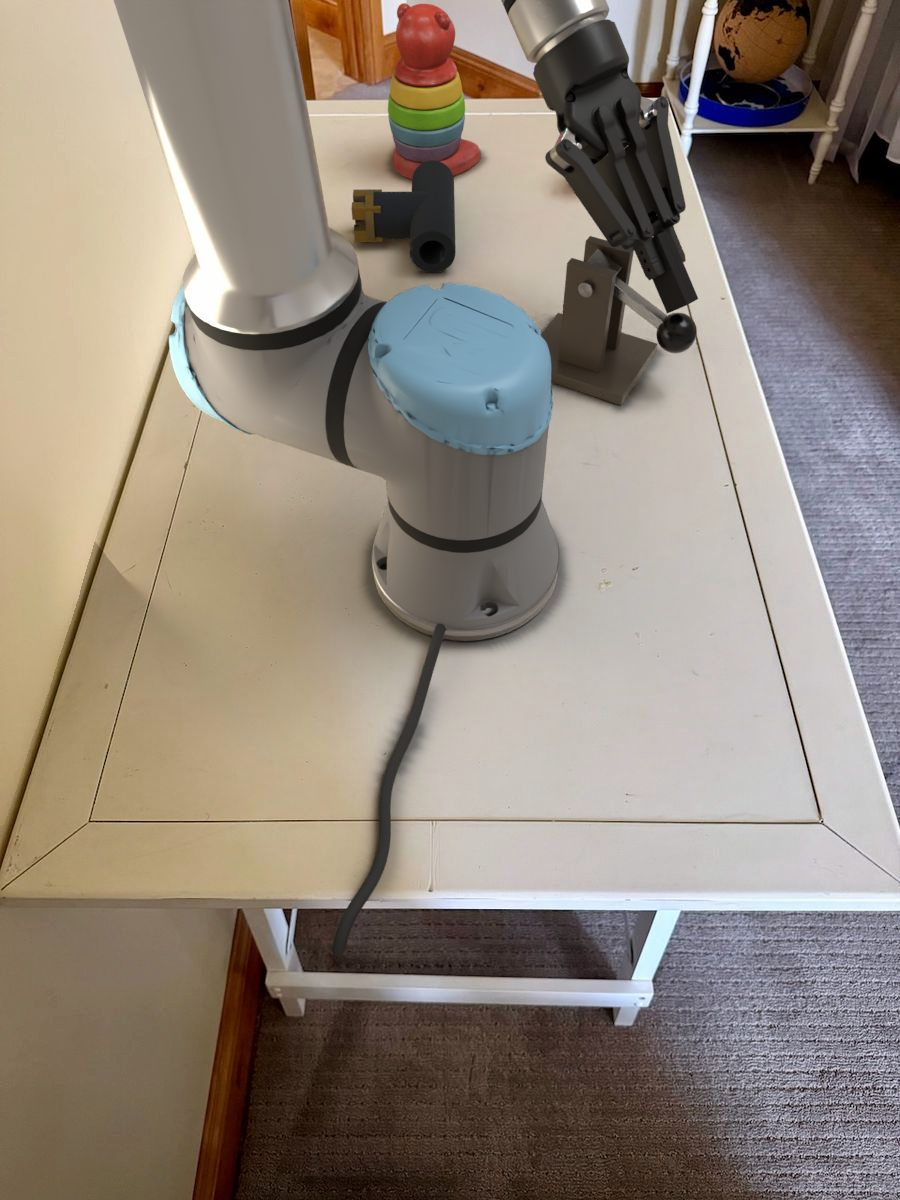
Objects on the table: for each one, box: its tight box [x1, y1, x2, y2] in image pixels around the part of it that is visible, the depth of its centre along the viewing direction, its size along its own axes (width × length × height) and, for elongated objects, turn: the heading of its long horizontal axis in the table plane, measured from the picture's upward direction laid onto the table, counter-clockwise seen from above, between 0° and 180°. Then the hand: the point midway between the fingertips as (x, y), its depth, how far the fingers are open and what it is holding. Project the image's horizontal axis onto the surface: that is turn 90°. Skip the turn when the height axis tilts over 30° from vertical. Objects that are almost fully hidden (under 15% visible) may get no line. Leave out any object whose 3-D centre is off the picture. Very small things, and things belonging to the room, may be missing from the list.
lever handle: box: [587, 249, 698, 354], centre depth 82 cm, size 12×4×4 cm, turn 60°
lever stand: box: [541, 235, 658, 406], centre depth 85 cm, size 11×9×12 cm
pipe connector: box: [351, 161, 457, 274], centre depth 102 cm, size 12×5×15 cm
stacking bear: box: [387, 2, 482, 180], centre depth 107 cm, size 11×10×18 cm
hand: (682, 306), depth 80 cm, fingers closed
